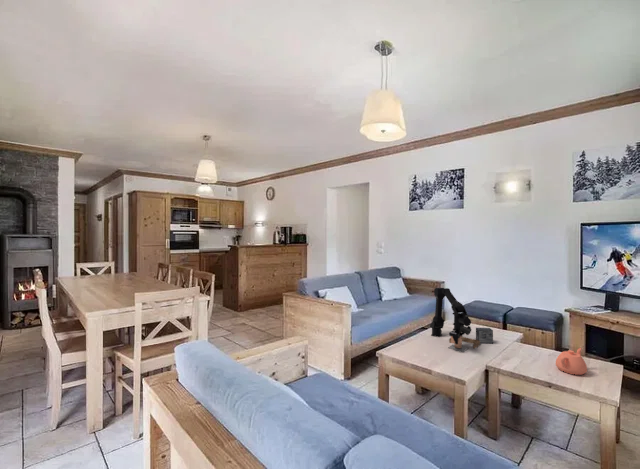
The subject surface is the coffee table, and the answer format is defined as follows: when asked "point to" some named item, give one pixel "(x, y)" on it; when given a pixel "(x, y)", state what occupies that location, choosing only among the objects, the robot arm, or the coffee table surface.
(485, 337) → the small box
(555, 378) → the coffee table surface
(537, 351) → the coffee table surface
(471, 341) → the holder
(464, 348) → the mat
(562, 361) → the orange rounded lump
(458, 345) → the popsicle on stick
